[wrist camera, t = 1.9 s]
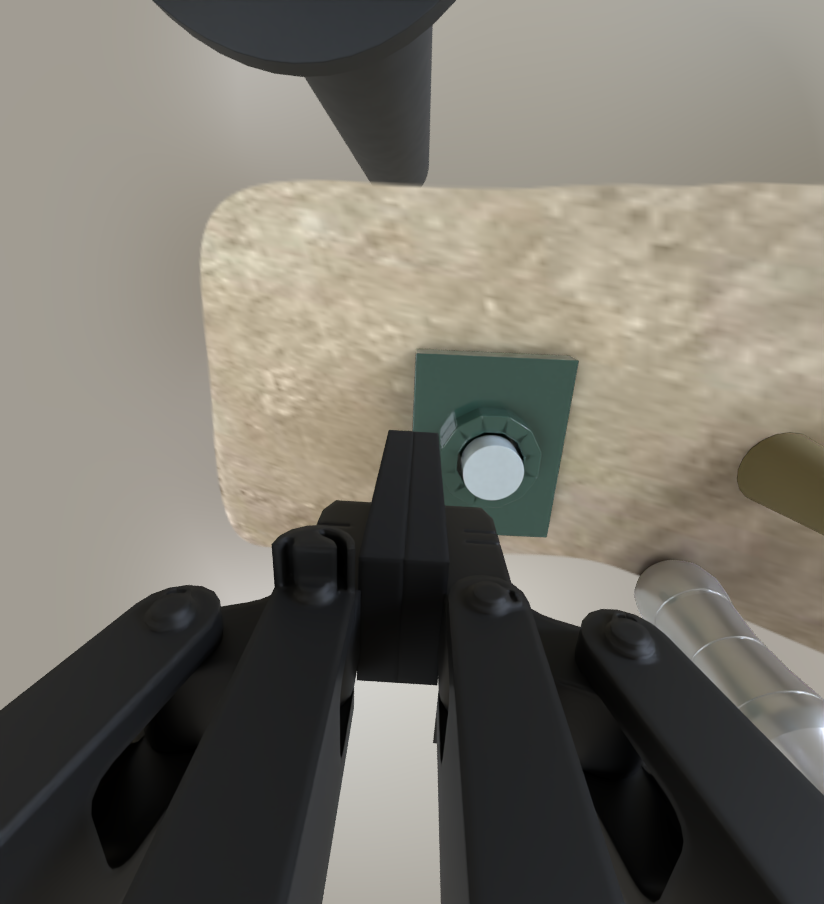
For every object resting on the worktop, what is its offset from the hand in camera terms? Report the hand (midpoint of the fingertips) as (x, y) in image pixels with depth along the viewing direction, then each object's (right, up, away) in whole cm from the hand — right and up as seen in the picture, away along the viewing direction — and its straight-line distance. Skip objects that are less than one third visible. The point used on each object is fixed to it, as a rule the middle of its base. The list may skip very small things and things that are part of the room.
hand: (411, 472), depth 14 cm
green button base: (+6, +1, +21) cm, 21 cm away
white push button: (+5, 0, +17) cm, 18 cm away
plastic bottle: (+22, -11, +25) cm, 35 cm away
